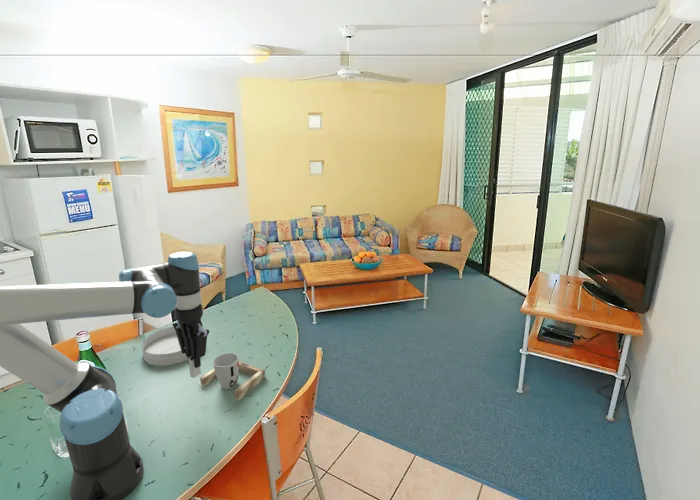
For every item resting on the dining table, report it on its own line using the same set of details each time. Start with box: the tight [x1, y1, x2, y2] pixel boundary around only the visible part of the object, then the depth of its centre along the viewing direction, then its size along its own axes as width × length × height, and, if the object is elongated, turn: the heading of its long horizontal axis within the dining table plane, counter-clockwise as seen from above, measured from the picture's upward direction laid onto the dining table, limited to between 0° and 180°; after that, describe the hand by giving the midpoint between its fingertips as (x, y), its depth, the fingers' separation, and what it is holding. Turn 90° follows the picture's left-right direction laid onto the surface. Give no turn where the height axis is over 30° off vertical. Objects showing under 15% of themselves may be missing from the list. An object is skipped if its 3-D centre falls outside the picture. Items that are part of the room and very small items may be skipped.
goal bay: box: [199, 360, 266, 401], centre depth 129 cm, size 14×17×3 cm
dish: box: [141, 326, 188, 366], centre depth 148 cm, size 22×22×5 cm
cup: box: [212, 352, 240, 390], centre depth 126 cm, size 8×8×10 cm
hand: (195, 374), depth 114 cm, fingers closed
